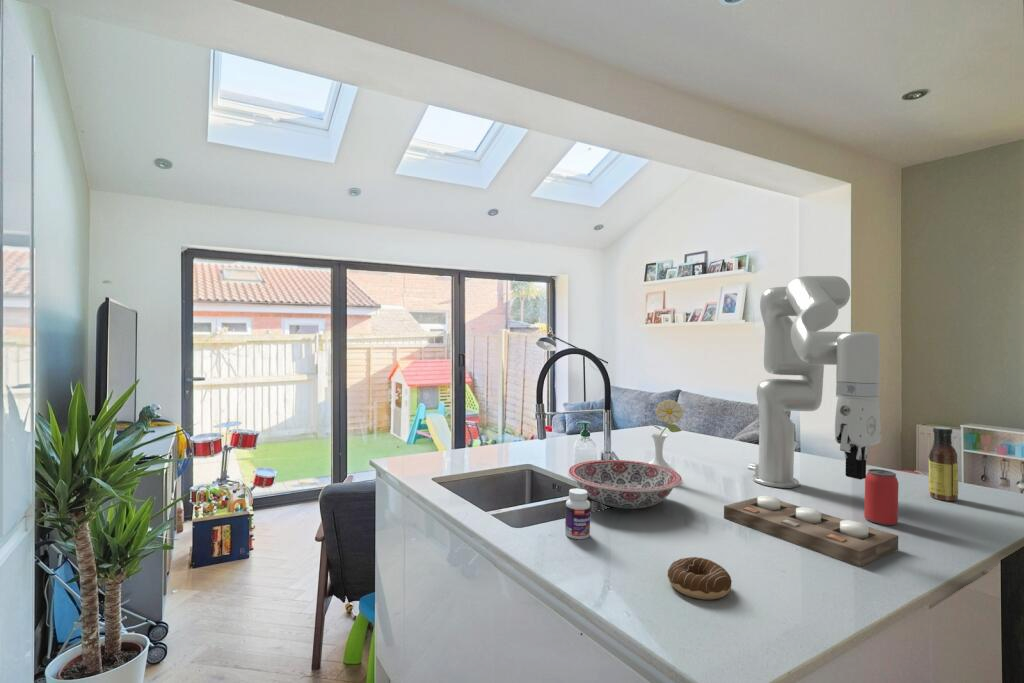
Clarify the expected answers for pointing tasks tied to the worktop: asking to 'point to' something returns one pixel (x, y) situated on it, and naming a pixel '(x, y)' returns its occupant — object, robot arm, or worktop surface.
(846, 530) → the right button
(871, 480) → the beer can
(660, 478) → the ceramic bowl
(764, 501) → the left button
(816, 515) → the middle button
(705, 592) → the donut
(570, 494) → the pill bottle
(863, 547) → the button board
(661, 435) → the flower in vase
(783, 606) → the worktop surface
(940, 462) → the sauce bottle
